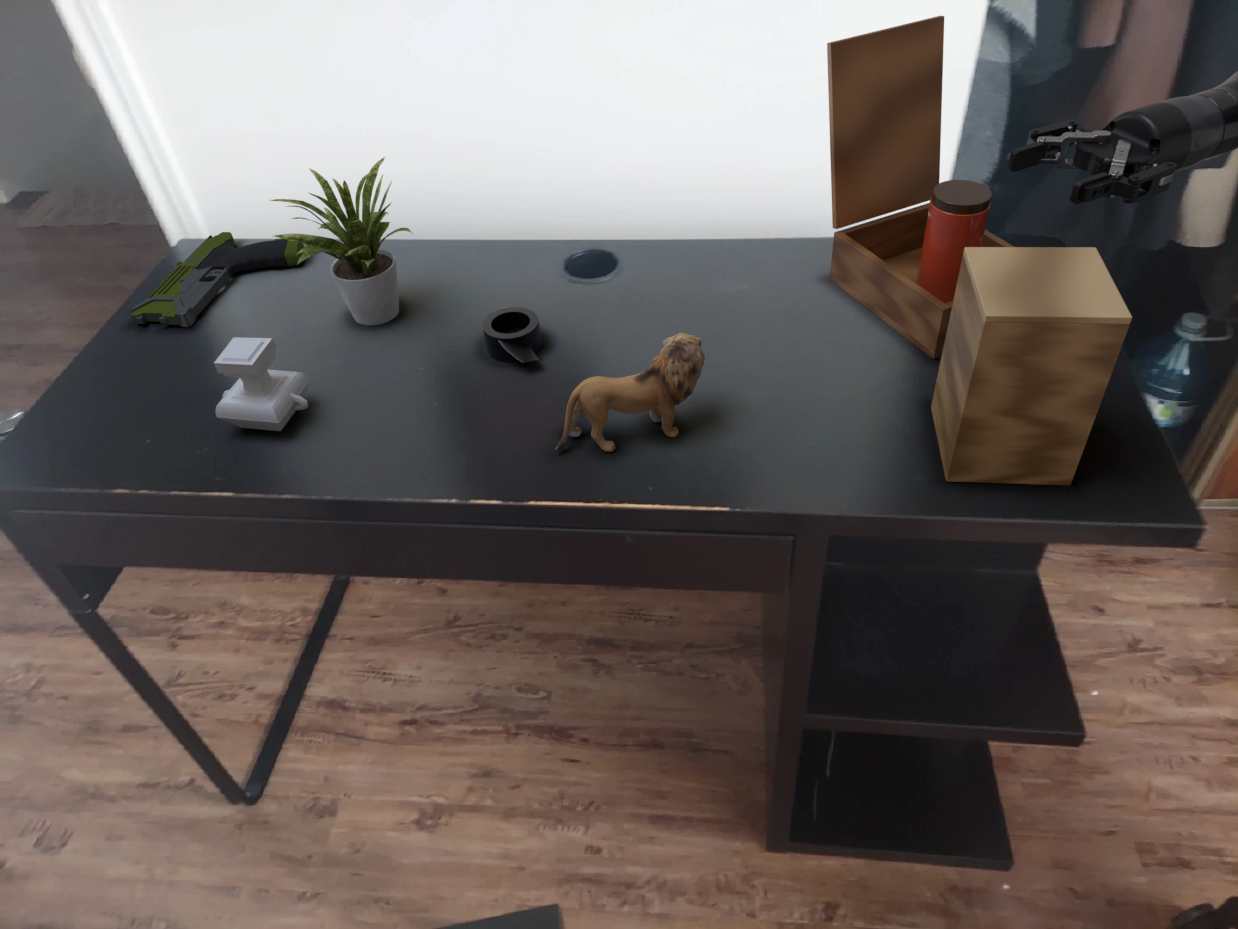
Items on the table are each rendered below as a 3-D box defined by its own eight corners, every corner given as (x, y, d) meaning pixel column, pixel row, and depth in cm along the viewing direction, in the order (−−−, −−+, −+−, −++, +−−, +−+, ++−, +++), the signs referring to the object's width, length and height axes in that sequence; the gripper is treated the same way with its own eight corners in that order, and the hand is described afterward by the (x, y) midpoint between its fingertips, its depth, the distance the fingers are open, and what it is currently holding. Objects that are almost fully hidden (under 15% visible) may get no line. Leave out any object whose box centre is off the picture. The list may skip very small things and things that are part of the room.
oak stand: (1044, 410, 84) (1094, 253, 73) (1070, 485, 76) (1130, 324, 65) (930, 407, 85) (963, 253, 74) (945, 481, 78) (984, 322, 67)
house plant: (352, 268, 111) (313, 137, 100) (457, 278, 108) (429, 143, 97) (291, 335, 101) (240, 197, 90) (405, 348, 98) (366, 206, 87)
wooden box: (1040, 320, 94) (1054, 270, 90) (933, 359, 90) (943, 309, 86) (927, 246, 106) (936, 200, 102) (829, 279, 102) (834, 232, 98)
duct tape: (466, 372, 94) (461, 348, 92) (491, 317, 101) (487, 295, 99) (539, 375, 92) (535, 352, 90) (559, 320, 100) (556, 297, 98)
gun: (248, 334, 102) (130, 330, 105) (318, 246, 115) (211, 245, 118) (240, 315, 100) (120, 312, 103) (311, 228, 114) (204, 227, 117)
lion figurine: (691, 394, 89) (690, 316, 82) (715, 426, 85) (716, 346, 79) (547, 438, 85) (535, 359, 79) (566, 473, 81) (554, 393, 75)
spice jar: (979, 297, 96) (1004, 190, 88) (949, 319, 94) (971, 211, 86) (933, 278, 99) (953, 173, 91) (902, 299, 97) (920, 193, 89)
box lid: (944, 15, 92) (916, 14, 95) (830, 43, 88) (805, 40, 92) (939, 197, 102) (913, 190, 105) (836, 229, 98) (813, 220, 101)
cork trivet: (1094, 253, 73) (1096, 246, 72) (1130, 324, 65) (1132, 317, 65) (963, 253, 74) (964, 246, 74) (984, 322, 67) (986, 315, 66)
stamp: (328, 400, 92) (303, 330, 86) (299, 443, 87) (270, 372, 81) (247, 394, 93) (217, 324, 88) (214, 436, 89) (180, 365, 83)
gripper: (1206, 198, 94) (1086, 240, 89) (1098, 149, 104) (984, 185, 99) (1235, 126, 89) (1108, 167, 84) (1118, 82, 99) (999, 116, 94)
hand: (1041, 176), depth 92 cm, fingers open, 8 cm apart
